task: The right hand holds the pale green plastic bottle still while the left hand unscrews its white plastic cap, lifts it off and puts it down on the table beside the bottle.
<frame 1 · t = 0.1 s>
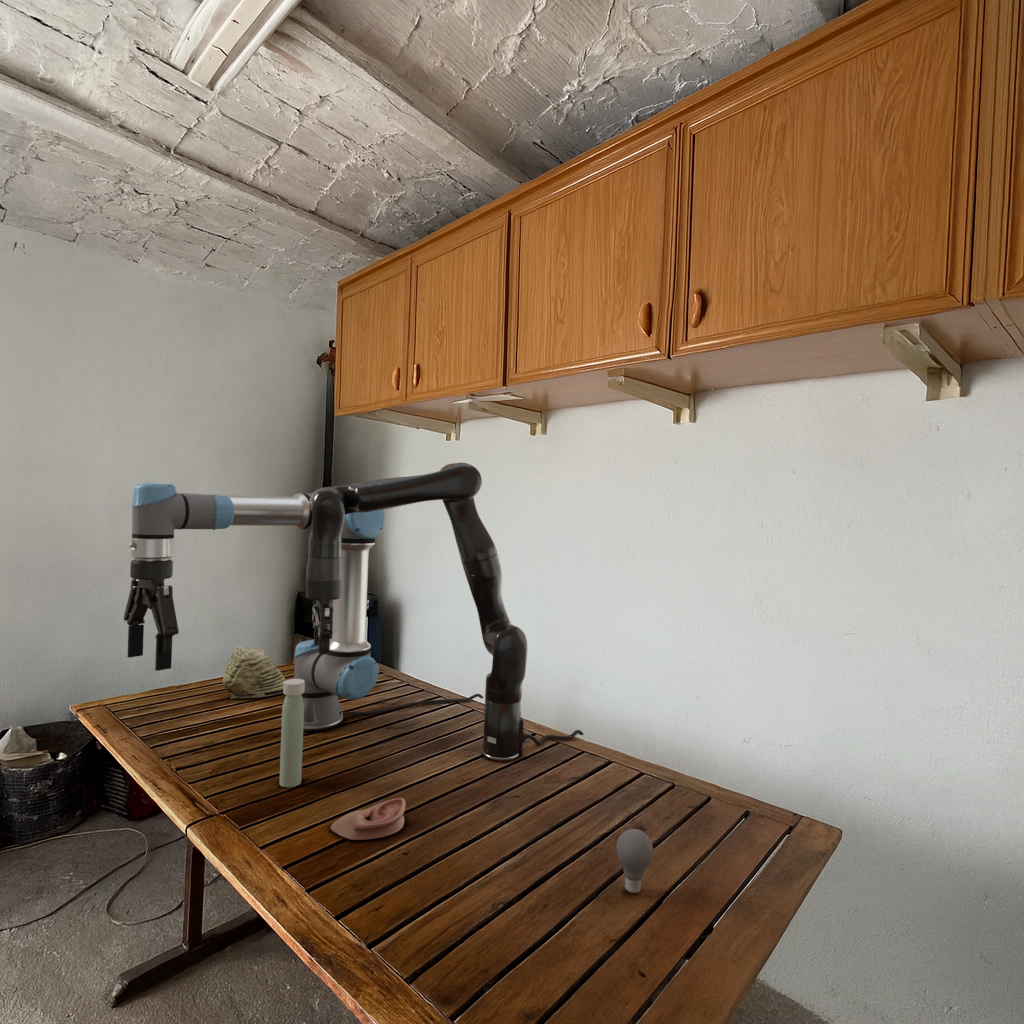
left hand: (148, 662, 129), 28 cm above the table, tool pointing down, fingers open, 13 cm apart
right hand: (321, 649, 141), 29 cm above the table, tool pointing down, fingers open, 8 cm apart
bottle: (290, 782, 140), on the table
fossil: (254, 694, 198), on the table
anatomical model: (368, 826, 123), on the table
cap: (294, 682, 139), point 22 cm above the table, screwed on, not yet turned
light bulb: (632, 891, 106), on the table
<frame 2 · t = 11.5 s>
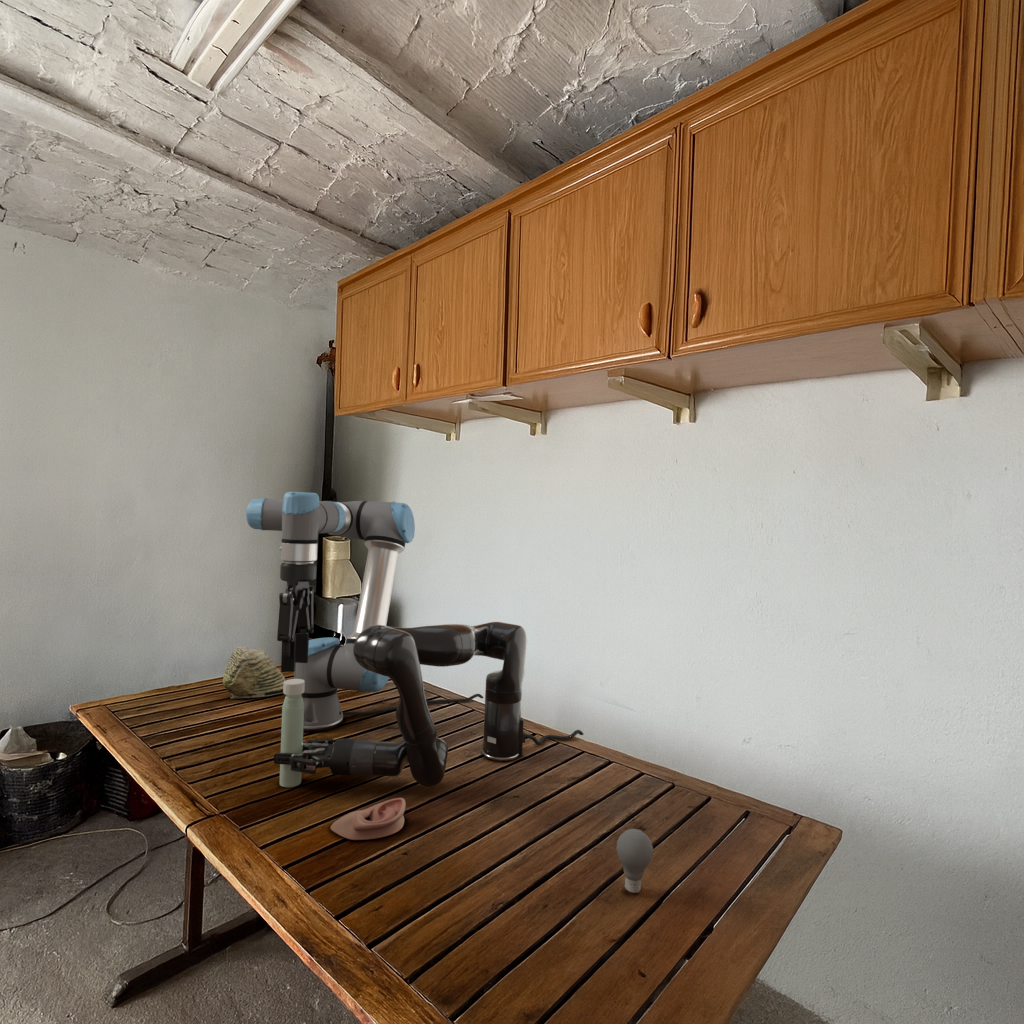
left hand: (294, 666, 139), 26 cm above the table, tool pointing down, fingers open, 7 cm apart
right hand: (279, 753, 140), 6 cm above the table, tool horizontal, fingers closed on bottle, 4 cm apart
bottle: (290, 782, 140), on the table, touching right hand
everything else where it was.
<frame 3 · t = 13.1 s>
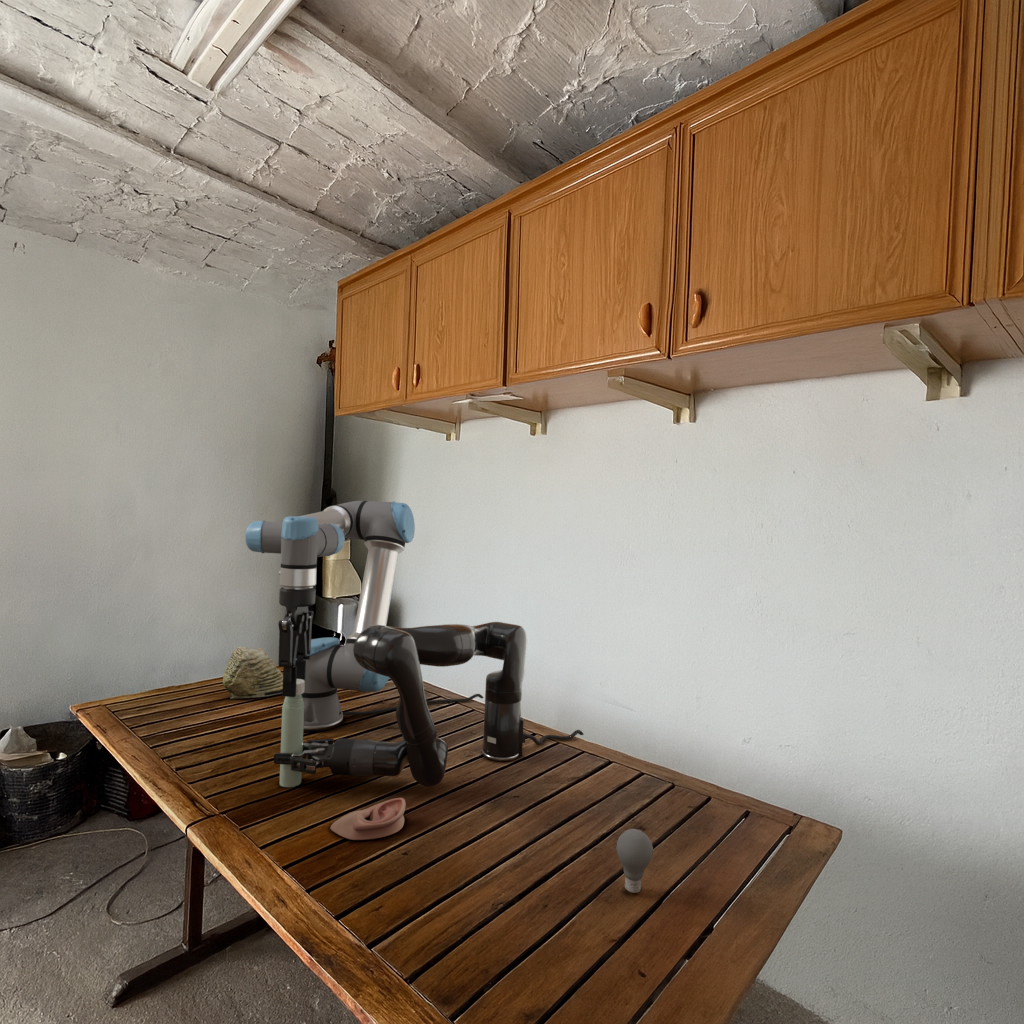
left hand: (293, 692, 139), 20 cm above the table, tool pointing down, fingers closed on cap, 4 cm apart
right hand: (279, 753, 140), 6 cm above the table, tool horizontal, fingers closed on bottle, 4 cm apart
bottle: (290, 782, 140), on the table, touching right hand
cap: (294, 682, 139), point 22 cm above the table, screwed on, not yet turned, touching left hand
everything else where it was.
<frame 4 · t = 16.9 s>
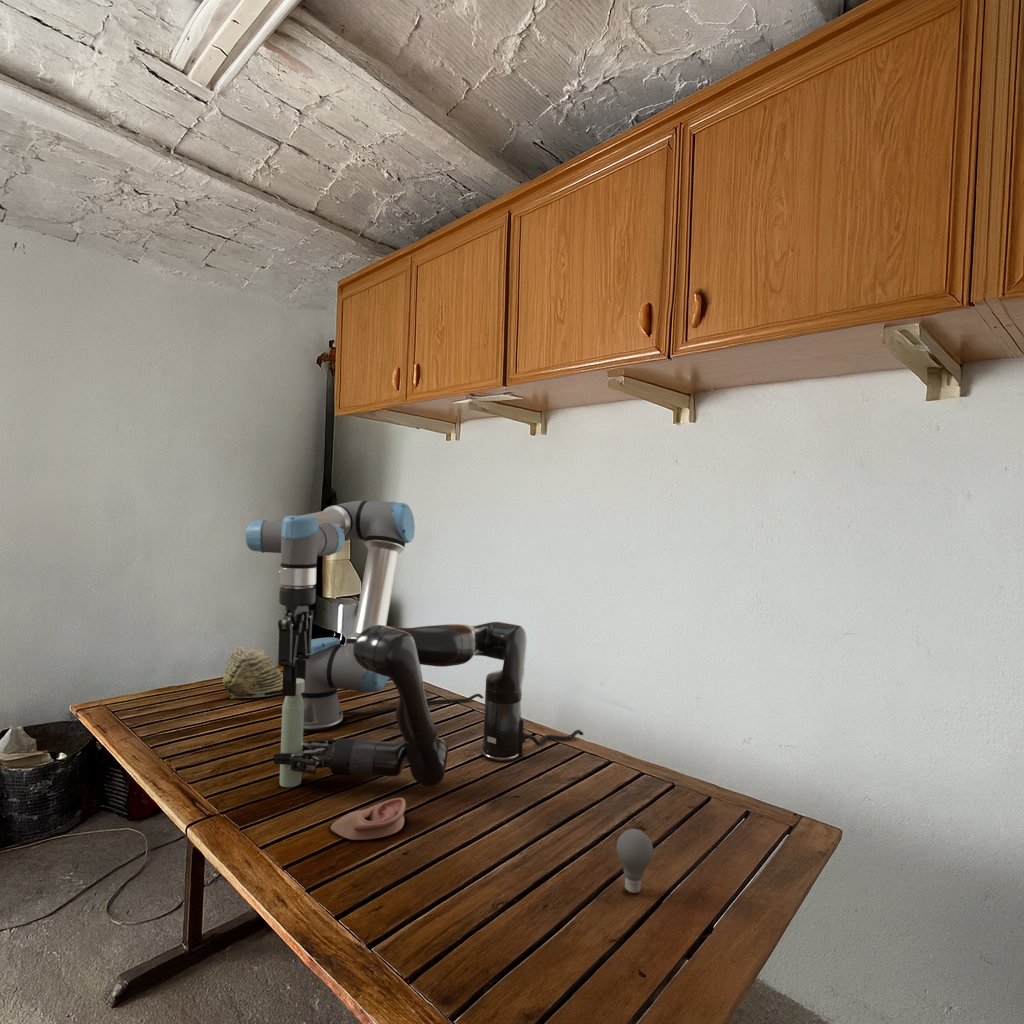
left hand: (293, 691, 139), 20 cm above the table, tool pointing down, fingers closed on cap, 4 cm apart
right hand: (279, 753, 140), 6 cm above the table, tool horizontal, fingers closed on bottle, 4 cm apart
bottle: (290, 782, 140), on the table, touching right hand
cap: (294, 682, 139), point 22 cm above the table, turned 130° so far, risen 0.1 cm, still on its thread, touching left hand
everything else where it was.
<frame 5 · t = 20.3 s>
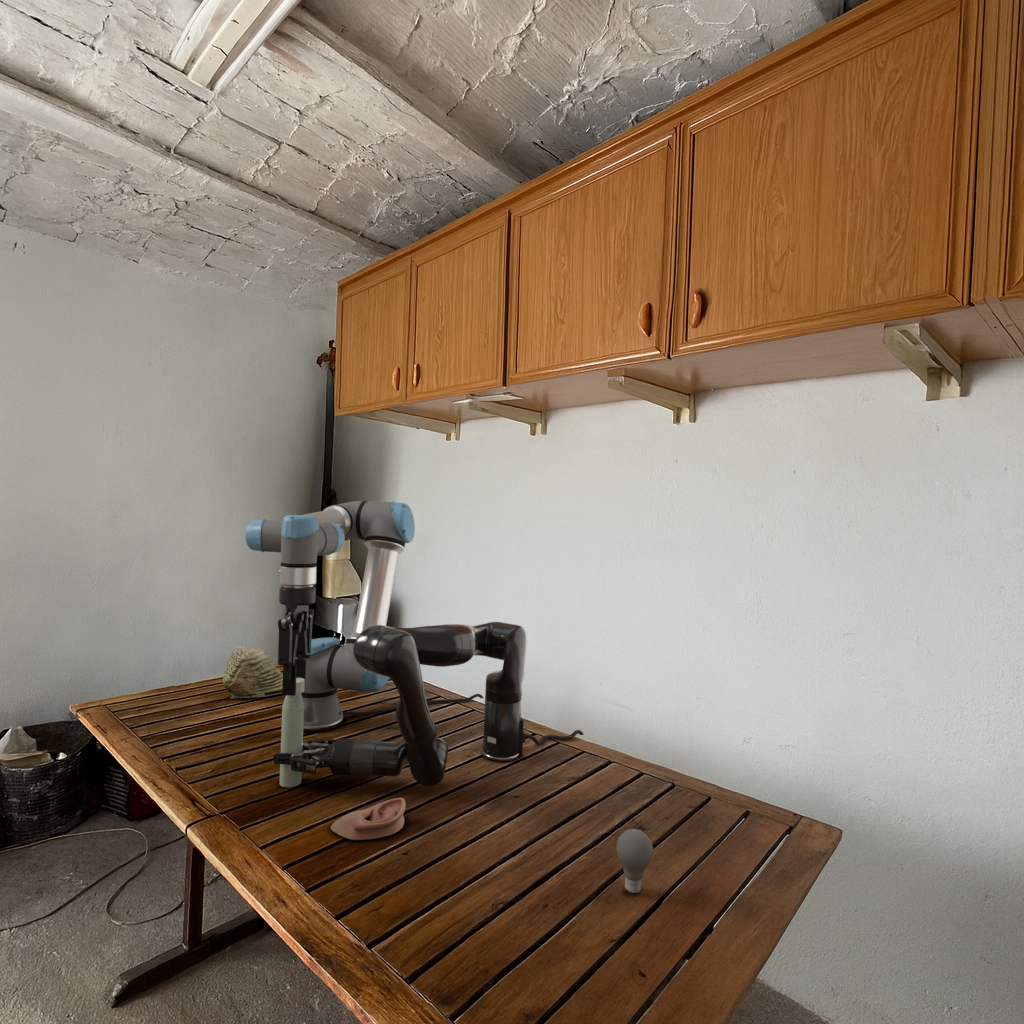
left hand: (293, 691, 139), 20 cm above the table, tool pointing down, fingers closed on cap, 4 cm apart
right hand: (279, 753, 140), 6 cm above the table, tool horizontal, fingers closed on bottle, 4 cm apart
bottle: (290, 782, 140), on the table, touching right hand
cap: (294, 681, 139), point 22 cm above the table, turned 260° so far, risen 0.3 cm, still on its thread, touching left hand
everything else where it was.
when the left hand's fingers open (2 cm above the table, at t = 30.4 s): cap drops 2 cm, point 2 cm above the table.
when the right hand's fingers open (6 cm above the table, at t = 31.7 s): bottle stays where it is, on the table.
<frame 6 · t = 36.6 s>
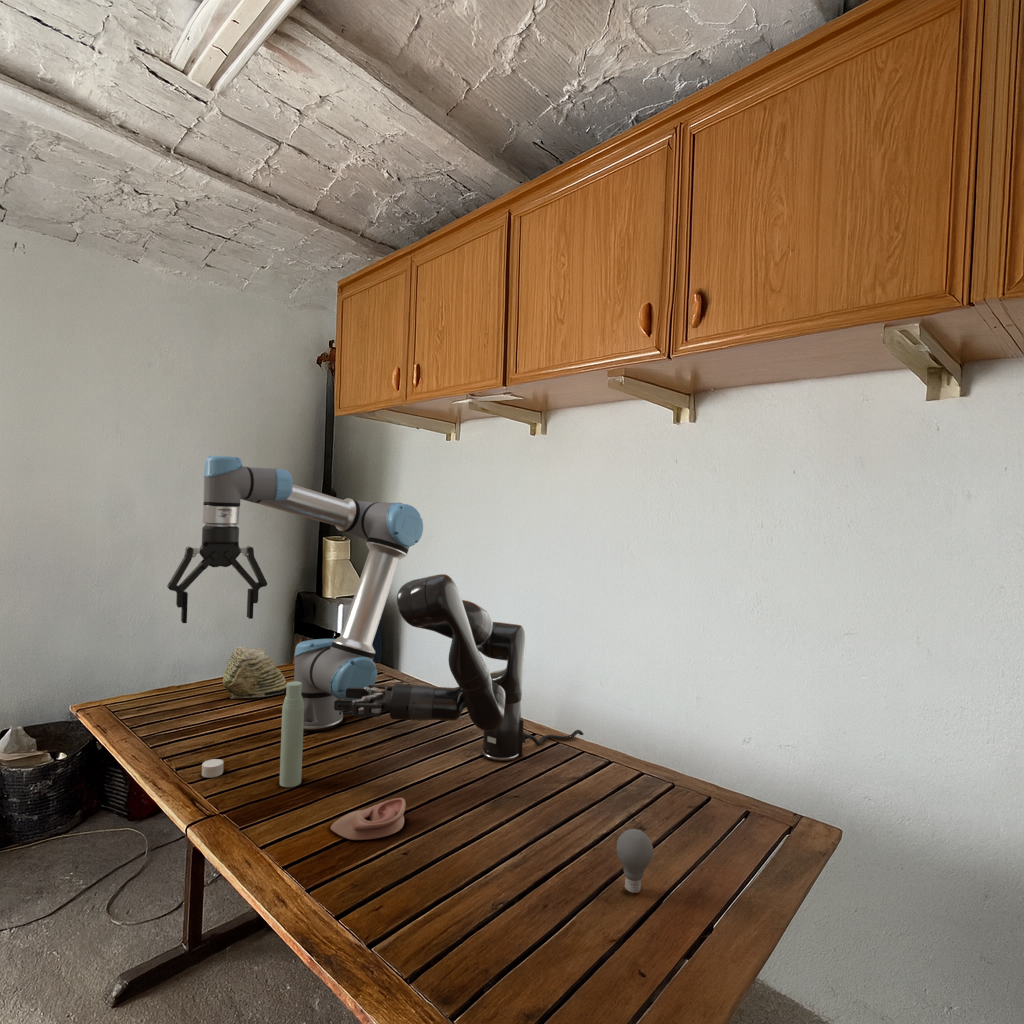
left hand: (217, 620, 142), 35 cm above the table, tool pointing down, fingers open, 13 cm apart
right hand: (340, 698, 139), 19 cm above the table, tool horizontal, fingers open, 8 cm apart
bottle: (290, 782, 140), on the table
cap: (212, 764, 142), point 2 cm above the table, off its thread
everything else where it was.
at the end: cap came off its thread; cap point 2.1 cm above the table; the left hand is holding nothing; the right hand is holding nothing; bottle tilted 0°; bottle moved 0.0 cm from its start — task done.
